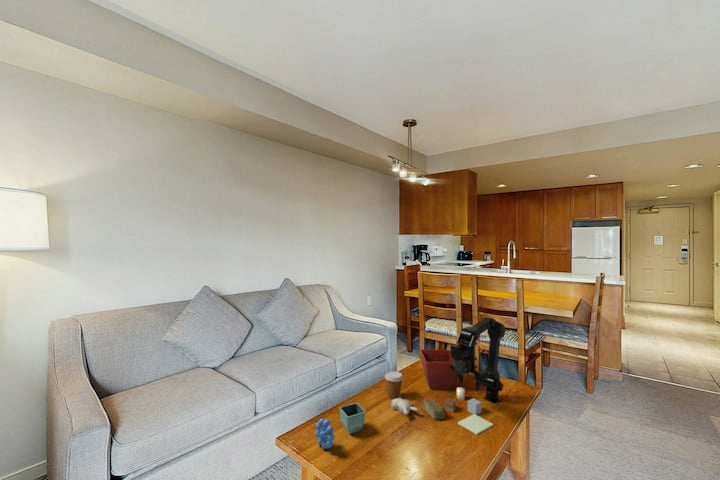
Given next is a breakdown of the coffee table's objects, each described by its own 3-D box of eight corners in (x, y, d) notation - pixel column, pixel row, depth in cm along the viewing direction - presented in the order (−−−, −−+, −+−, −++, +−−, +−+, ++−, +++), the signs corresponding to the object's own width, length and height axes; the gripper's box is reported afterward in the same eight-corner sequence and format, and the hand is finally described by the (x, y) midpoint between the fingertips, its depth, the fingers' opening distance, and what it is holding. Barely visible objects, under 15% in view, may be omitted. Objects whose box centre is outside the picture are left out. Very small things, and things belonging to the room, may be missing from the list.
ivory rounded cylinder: (459, 395, 173) (459, 386, 173) (466, 399, 170) (466, 389, 170) (454, 398, 171) (455, 388, 171) (461, 401, 167) (461, 391, 167)
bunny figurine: (402, 393, 167) (420, 403, 153) (402, 404, 166) (421, 415, 153) (386, 397, 162) (403, 408, 149) (387, 408, 162) (404, 420, 149)
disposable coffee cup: (403, 401, 166) (403, 378, 166) (384, 401, 167) (385, 378, 167) (401, 392, 176) (401, 370, 176) (383, 392, 176) (384, 370, 176)
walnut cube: (447, 406, 162) (447, 398, 162) (455, 409, 160) (455, 400, 160) (444, 410, 159) (444, 401, 159) (452, 412, 157) (452, 404, 157)
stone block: (434, 421, 149) (434, 410, 149) (421, 409, 160) (421, 399, 160) (445, 419, 151) (445, 408, 151) (431, 407, 162) (431, 397, 162)
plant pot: (461, 393, 176) (461, 362, 176) (425, 392, 176) (426, 361, 176) (451, 377, 195) (451, 349, 195) (419, 377, 196) (419, 349, 195)
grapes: (342, 451, 128) (342, 420, 128) (328, 458, 124) (328, 427, 123) (325, 437, 137) (325, 408, 137) (311, 443, 132) (311, 414, 132)
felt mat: (474, 415, 154) (474, 414, 154) (493, 425, 146) (493, 424, 146) (457, 423, 147) (457, 422, 147) (476, 434, 139) (476, 433, 139)
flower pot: (347, 438, 136) (347, 417, 136) (338, 427, 144) (339, 407, 144) (365, 432, 140) (366, 411, 140) (356, 422, 148) (356, 402, 148)
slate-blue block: (473, 408, 161) (473, 398, 161) (481, 412, 157) (481, 402, 157) (467, 411, 158) (467, 400, 158) (475, 415, 154) (475, 404, 154)
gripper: (442, 353, 159) (442, 384, 159) (475, 366, 143) (475, 401, 144) (457, 348, 165) (457, 378, 166) (490, 360, 150) (490, 393, 150)
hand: (469, 387), depth 156 cm, fingers open, 9 cm apart
